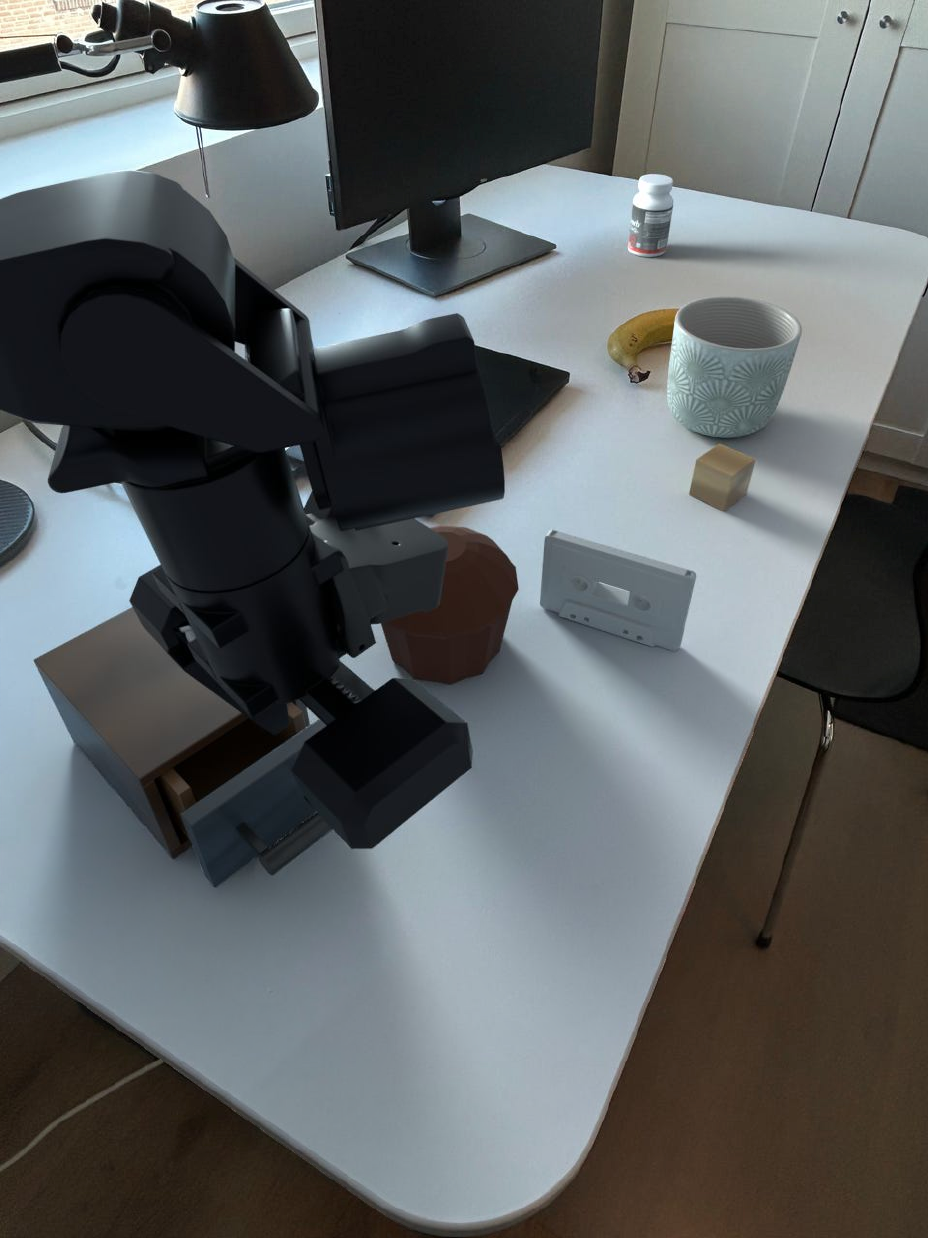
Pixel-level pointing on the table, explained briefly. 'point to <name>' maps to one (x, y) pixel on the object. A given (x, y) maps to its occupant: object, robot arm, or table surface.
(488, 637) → the muffin
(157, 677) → the cabinet
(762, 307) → the planter
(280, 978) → the table surface
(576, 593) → the cassette
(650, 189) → the pill bottle
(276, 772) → the drawer
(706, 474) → the oak block
